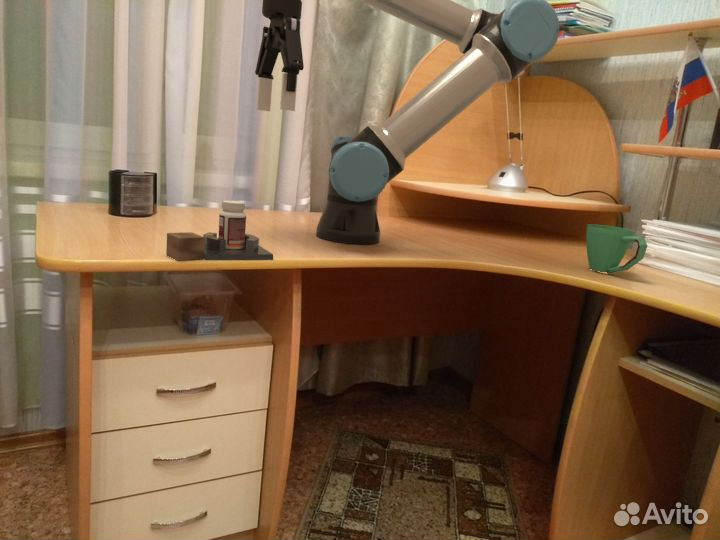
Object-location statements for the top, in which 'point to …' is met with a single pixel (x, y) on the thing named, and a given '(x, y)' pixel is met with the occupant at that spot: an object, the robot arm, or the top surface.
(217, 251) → the socket
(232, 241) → the pill bottle
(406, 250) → the top surface
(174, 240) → the walnut block
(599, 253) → the mug
